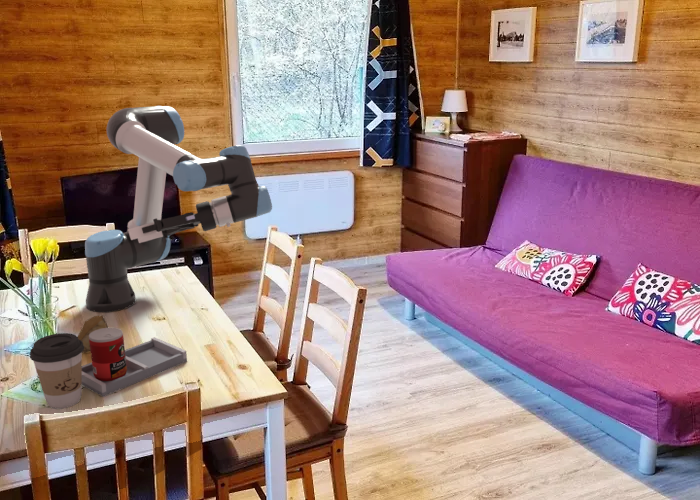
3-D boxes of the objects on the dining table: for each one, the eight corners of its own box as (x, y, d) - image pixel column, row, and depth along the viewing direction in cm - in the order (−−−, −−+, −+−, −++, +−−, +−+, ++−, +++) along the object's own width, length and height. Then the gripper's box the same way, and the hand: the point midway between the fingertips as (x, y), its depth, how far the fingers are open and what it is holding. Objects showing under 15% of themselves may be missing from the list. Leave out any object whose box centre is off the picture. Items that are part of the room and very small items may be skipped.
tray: (72, 379, 161) (70, 368, 160) (155, 347, 178) (154, 337, 178) (102, 396, 152) (101, 385, 151) (187, 361, 170) (186, 350, 169)
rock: (67, 352, 170) (106, 344, 172) (63, 321, 173) (102, 313, 175) (79, 360, 180) (116, 352, 182) (75, 331, 183) (112, 323, 185)
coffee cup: (51, 419, 143) (41, 356, 138) (28, 402, 150) (19, 342, 146) (99, 399, 151) (92, 339, 147) (76, 384, 158) (68, 327, 154)
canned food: (117, 383, 156) (112, 341, 153) (87, 380, 158) (81, 338, 155) (133, 369, 164) (129, 328, 160) (104, 366, 165) (99, 326, 162)
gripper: (216, 223, 161) (130, 247, 157) (219, 231, 185) (144, 252, 181) (207, 194, 161) (121, 218, 157) (211, 205, 185) (136, 226, 181)
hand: (133, 236), depth 169 cm, fingers open, 13 cm apart
